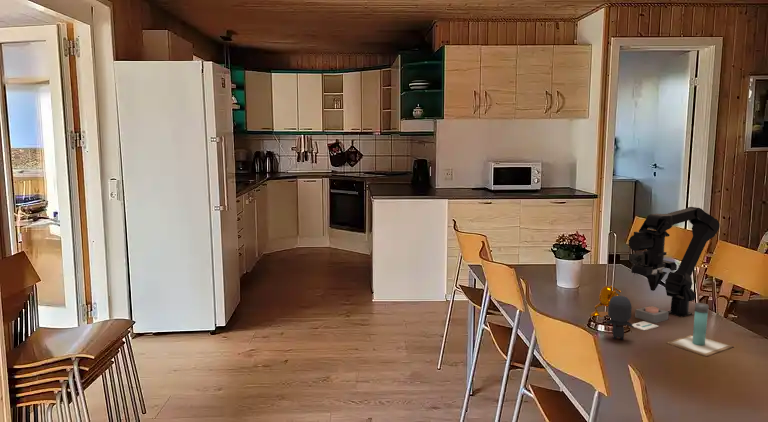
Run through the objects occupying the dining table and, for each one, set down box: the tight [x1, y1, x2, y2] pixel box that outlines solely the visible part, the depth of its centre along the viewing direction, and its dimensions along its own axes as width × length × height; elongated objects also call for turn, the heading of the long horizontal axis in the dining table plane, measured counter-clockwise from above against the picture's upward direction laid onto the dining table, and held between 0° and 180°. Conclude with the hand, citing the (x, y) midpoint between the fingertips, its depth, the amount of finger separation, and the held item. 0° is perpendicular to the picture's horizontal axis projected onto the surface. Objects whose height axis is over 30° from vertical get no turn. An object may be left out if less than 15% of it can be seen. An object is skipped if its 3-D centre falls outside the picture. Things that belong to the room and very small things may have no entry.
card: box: [631, 320, 659, 332], centre depth 203 cm, size 8×6×1 cm
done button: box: [645, 305, 660, 313], centre depth 211 cm, size 4×4×4 cm
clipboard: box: [666, 334, 734, 358], centre depth 184 cm, size 15×13×1 cm
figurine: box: [589, 285, 623, 317], centre depth 212 cm, size 8×11×12 cm
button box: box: [634, 306, 670, 324], centre depth 211 cm, size 8×8×3 cm
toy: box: [603, 294, 635, 341], centre depth 189 cm, size 9×8×15 cm
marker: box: [692, 302, 710, 346], centre depth 183 cm, size 4×4×13 cm
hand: (652, 290), depth 209 cm, fingers closed
